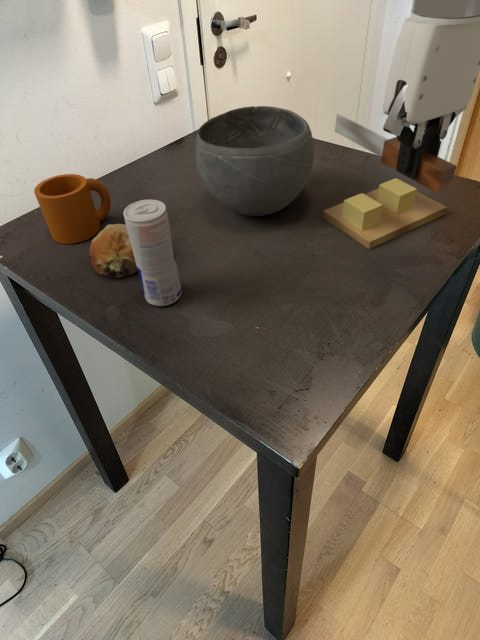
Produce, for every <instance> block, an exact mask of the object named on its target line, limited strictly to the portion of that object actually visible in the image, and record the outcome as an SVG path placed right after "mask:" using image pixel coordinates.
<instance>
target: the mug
mask: <svg viewBox="0 0 480 640" xmlns="http://www.w3.org/2000/svg"><path fill="white" fill-rule="evenodd" d="M33 189H34V191H33V194H34V196H35V198H36V201H37V203H38V205H39V209H40V211H41V213H42V216H43V218H44V221H45V223H46V226H47V229H48V231H49V234H50V236H51V238H52V239H53V241H55V242H57V243H59V244H64V245H67V244H69V245H71V244H79V243H81V242H84V241H88V240H89V239H91V238H92V237H93V238H94V236H96V235H97V234H98V233H99V232H100V229H101V222H103V221H104V220H105V219H106V218H107V216H109V213H110V210H111V205H112V204H111V203H112V201H111V195H110V193H109V190H108V188H107V187H106V185H105V184H104V183H103V182H102V181H100V180H98V179H96V178H92V177H89V178H86V177H85V176H83V175H80V174H76V173H65V174H59V175H55V176H51V177H49V178H46V179H44V180H42V181H40V182H39V183H38V184H37V185H36V186H35V187H34V188H33ZM91 191H92V192H95V193H97V194H98V196H99V197H100V205H99V207H98V209H97V210H96V206H95V203H94V199H93V196H92V193H91Z"/></svg>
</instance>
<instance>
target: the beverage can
mask: <svg viewBox="0 0 480 640" xmlns="http://www.w3.org/2000/svg"><path fill="white" fill-rule="evenodd" d="M122 213H123V218H124V224H125V225H126V227H127V231H128V234H129V238H130V242H131V246H132V250H133V254H134V258H135V261H136V265H137V269H138V271H137V273H138V276H139V280H140V285H141V288H142V292H143V296H144V299H145V301H146V302H147V303H148V304H150V305H152V306H155V307H164V306H169V305H172V304H174V303H175V302H177V301H178V300H179V299H180V298H181V296H182V293H183V291H182V285H181V280H180V274H179V269H178V263H177V259H176V252H175V248H174V241H173V236H172V232H171V231H172V230H171V224H170V221H169V220H170V219H169V215H168V211H167V205H166V204H165V203H164V202H163V201H160V200H157V199H141V200H138V201H135V202H132V203H130V204H128V205H127V206H126V207H125V208H124V210H123V211H122Z"/></svg>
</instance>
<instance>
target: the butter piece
mask: <svg viewBox="0 0 480 640" xmlns="http://www.w3.org/2000/svg"><path fill="white" fill-rule="evenodd" d="M365 194H366V193H363V192H361V193H358V194H356V195H353V196H351V197H348V198H345V199H343V203H344V206H343V214H342V218H343V219H345V220H346V221H348V222H349V223H351V224H352V225H354V226H355V227H357V228H358V229H360V230H361V231H362V230H365V229H367V228H369V227H371V226H374V225H376V224H378V223H380V217H381V211H382V206H383V205H382V204H380V203H378V202H377V201H375V200H373V199H371V198H370V197H368V196H366V195H365Z"/></svg>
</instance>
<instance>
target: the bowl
mask: <svg viewBox="0 0 480 640" xmlns="http://www.w3.org/2000/svg"><path fill="white" fill-rule="evenodd" d="M309 125H310V124H309V123H308V122H307V121H306V119H305V118H304V117H302V116H301V115H299V114H298V113H296V112H294V111H293V110H290V109H288V108H287V109H286V108H281V107H277V106H269V105H268V106H267V105H257V106H255V105H252V106H251V105H250V106H243V107H238V108H235V109H231V110H228V111H225V112H224V113H220V114H218V115H216V116H213V117H211V118H210V119H208V120H207V121H205V122H203V124H202V125H201V126H199V128H198V129H197V134H196V138H195V142H194V159H195V165H196V168H197V171H198V175H199V178H200V180H201V182H202V184H203V186H204V187H205V189H206V190H207V191H208V193H209V194H210V195H211V196H212V197H213V198H214V199H215V200H216V201H217V202H219V203H220V204H221V205H222V206H224V207H225V208H227V209H228V210H230V211H232V212H233V213H236V214H239V215H243V216H248V217H249V216H250V217H264V216H267V215H271V214H274V213H277V212H279V211H281V210H282V209H285V208H286V207H287V206H288V205H290V204H291V203H292V202H293V201H294V200H296V198H297V196H298V195H299V194H300V193H301V192H302V190H303V189H304V188H305V186H306V184H307V182H308V180H309V178H310V175H311V172H312V169H313V166H314V159H315V158H314V157H315V155H314V154H315V143H314V138H313V133H312V130H311V127H310V126H309Z"/></svg>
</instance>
